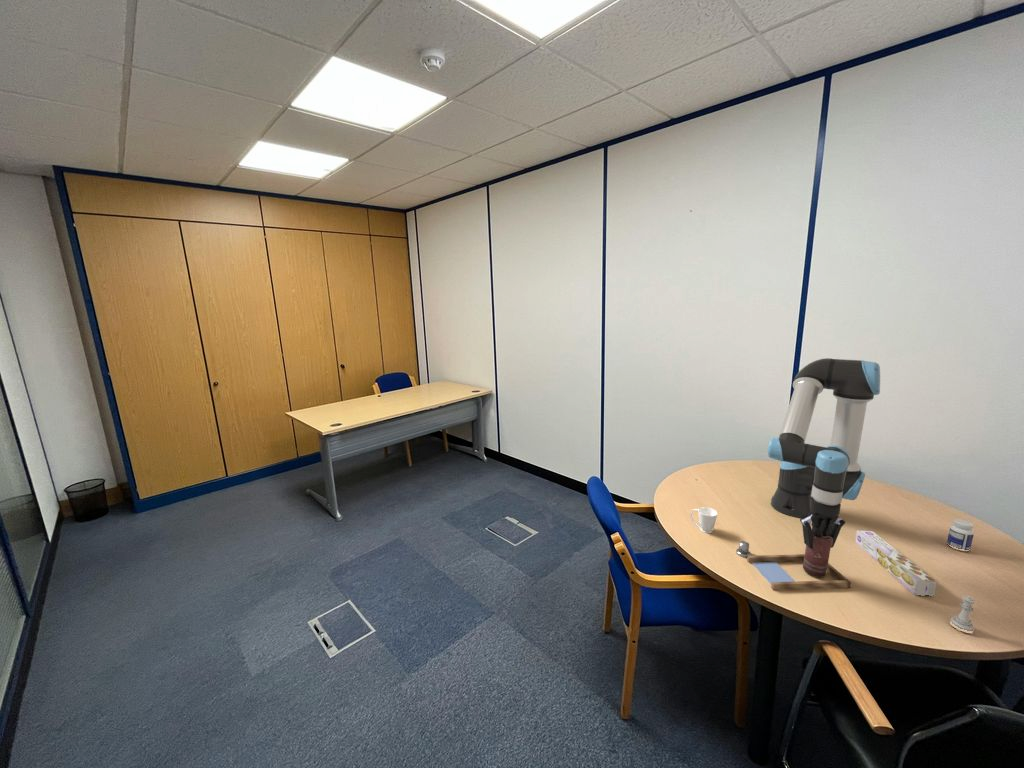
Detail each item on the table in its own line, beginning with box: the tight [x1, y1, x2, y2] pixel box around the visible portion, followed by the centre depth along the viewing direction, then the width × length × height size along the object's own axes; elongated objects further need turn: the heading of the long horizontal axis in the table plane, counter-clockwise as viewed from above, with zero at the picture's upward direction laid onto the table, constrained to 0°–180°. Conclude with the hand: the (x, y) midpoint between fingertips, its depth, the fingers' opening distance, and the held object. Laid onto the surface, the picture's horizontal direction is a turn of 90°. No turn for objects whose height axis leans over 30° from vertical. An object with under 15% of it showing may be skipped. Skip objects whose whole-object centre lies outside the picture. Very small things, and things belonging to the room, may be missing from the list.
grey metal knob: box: [735, 540, 752, 559], centre depth 142 cm, size 4×4×4 cm
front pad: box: [751, 562, 796, 585], centre depth 132 cm, size 8×11×1 cm
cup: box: [689, 506, 718, 534], centre depth 158 cm, size 7×10×8 cm
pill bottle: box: [946, 518, 975, 550], centre depth 142 cm, size 6×6×10 cm
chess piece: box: [950, 595, 976, 631], centre depth 109 cm, size 4×4×10 cm
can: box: [802, 534, 833, 578], centre depth 131 cm, size 6×6×14 cm
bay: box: [746, 553, 852, 591], centre depth 132 cm, size 24×14×2 cm, turn 90°
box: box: [855, 530, 938, 597], centre depth 133 cm, size 27×5×6 cm, turn 171°
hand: (815, 565), depth 132 cm, fingers closed
